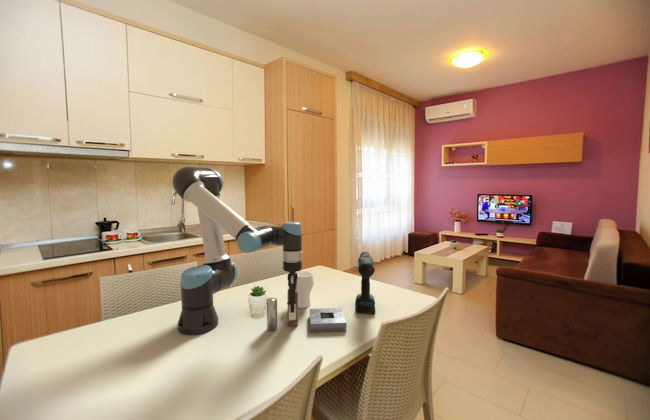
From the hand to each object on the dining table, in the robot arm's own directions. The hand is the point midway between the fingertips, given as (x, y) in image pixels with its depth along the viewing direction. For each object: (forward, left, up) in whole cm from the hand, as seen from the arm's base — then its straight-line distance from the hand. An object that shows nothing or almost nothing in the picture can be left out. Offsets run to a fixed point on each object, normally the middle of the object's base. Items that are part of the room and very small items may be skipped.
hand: (292, 313), depth 122 cm
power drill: (+33, +14, -5) cm, 36 cm away
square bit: (0, 0, -4) cm, 4 cm away
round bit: (-8, -4, -4) cm, 10 cm away
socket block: (+14, -1, -4) cm, 15 cm away
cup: (+4, +19, -5) cm, 20 cm away
